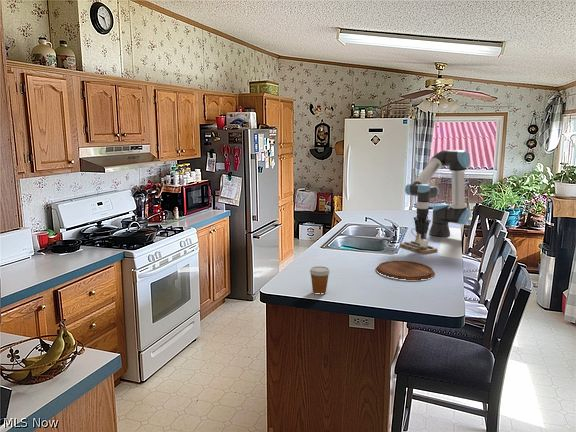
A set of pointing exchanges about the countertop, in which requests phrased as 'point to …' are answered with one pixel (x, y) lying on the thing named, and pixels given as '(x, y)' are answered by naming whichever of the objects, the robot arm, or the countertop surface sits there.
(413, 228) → the mug
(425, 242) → the fader knob
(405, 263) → the cutting board
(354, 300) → the countertop surface
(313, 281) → the beer glass
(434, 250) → the wooden tray
